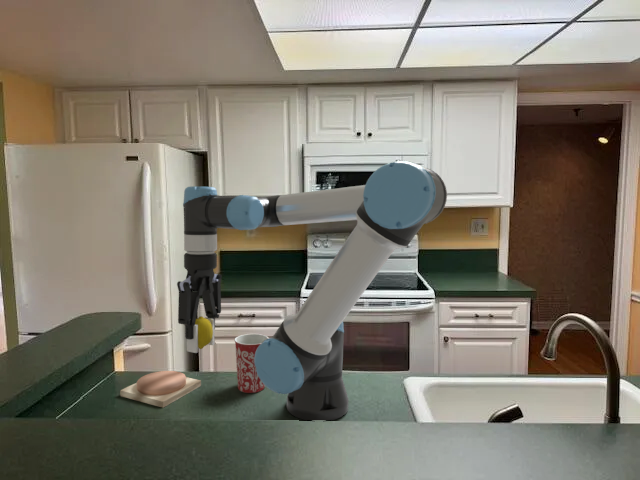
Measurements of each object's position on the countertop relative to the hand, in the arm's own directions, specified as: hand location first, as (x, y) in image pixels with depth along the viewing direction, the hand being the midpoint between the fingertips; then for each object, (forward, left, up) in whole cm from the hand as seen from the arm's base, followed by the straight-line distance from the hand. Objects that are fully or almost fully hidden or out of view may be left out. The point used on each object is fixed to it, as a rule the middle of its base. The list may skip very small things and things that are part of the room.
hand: (200, 347), depth 105 cm
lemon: (0, 0, -1) cm, 1 cm away
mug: (-6, -16, -15) cm, 23 cm away
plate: (+14, -2, -14) cm, 20 cm away
